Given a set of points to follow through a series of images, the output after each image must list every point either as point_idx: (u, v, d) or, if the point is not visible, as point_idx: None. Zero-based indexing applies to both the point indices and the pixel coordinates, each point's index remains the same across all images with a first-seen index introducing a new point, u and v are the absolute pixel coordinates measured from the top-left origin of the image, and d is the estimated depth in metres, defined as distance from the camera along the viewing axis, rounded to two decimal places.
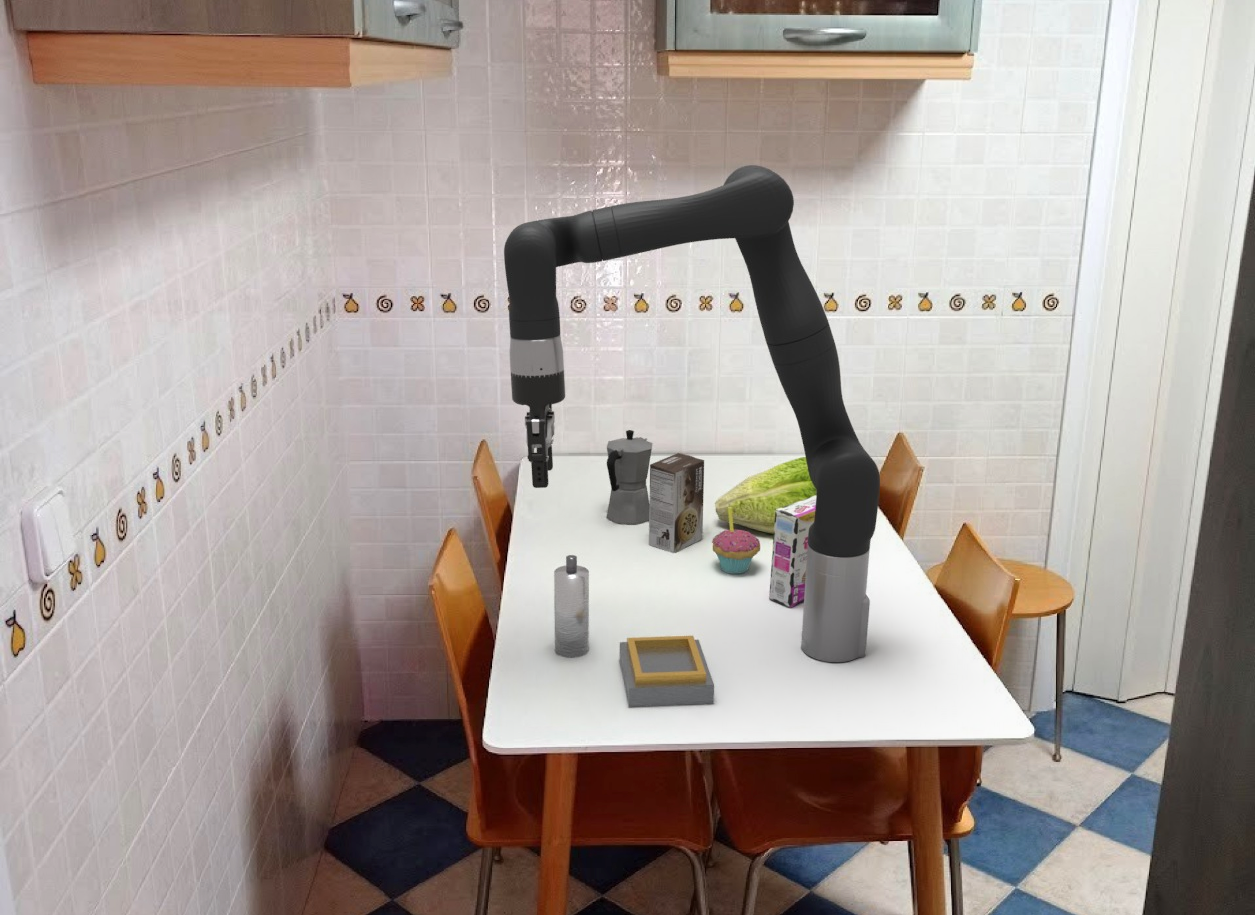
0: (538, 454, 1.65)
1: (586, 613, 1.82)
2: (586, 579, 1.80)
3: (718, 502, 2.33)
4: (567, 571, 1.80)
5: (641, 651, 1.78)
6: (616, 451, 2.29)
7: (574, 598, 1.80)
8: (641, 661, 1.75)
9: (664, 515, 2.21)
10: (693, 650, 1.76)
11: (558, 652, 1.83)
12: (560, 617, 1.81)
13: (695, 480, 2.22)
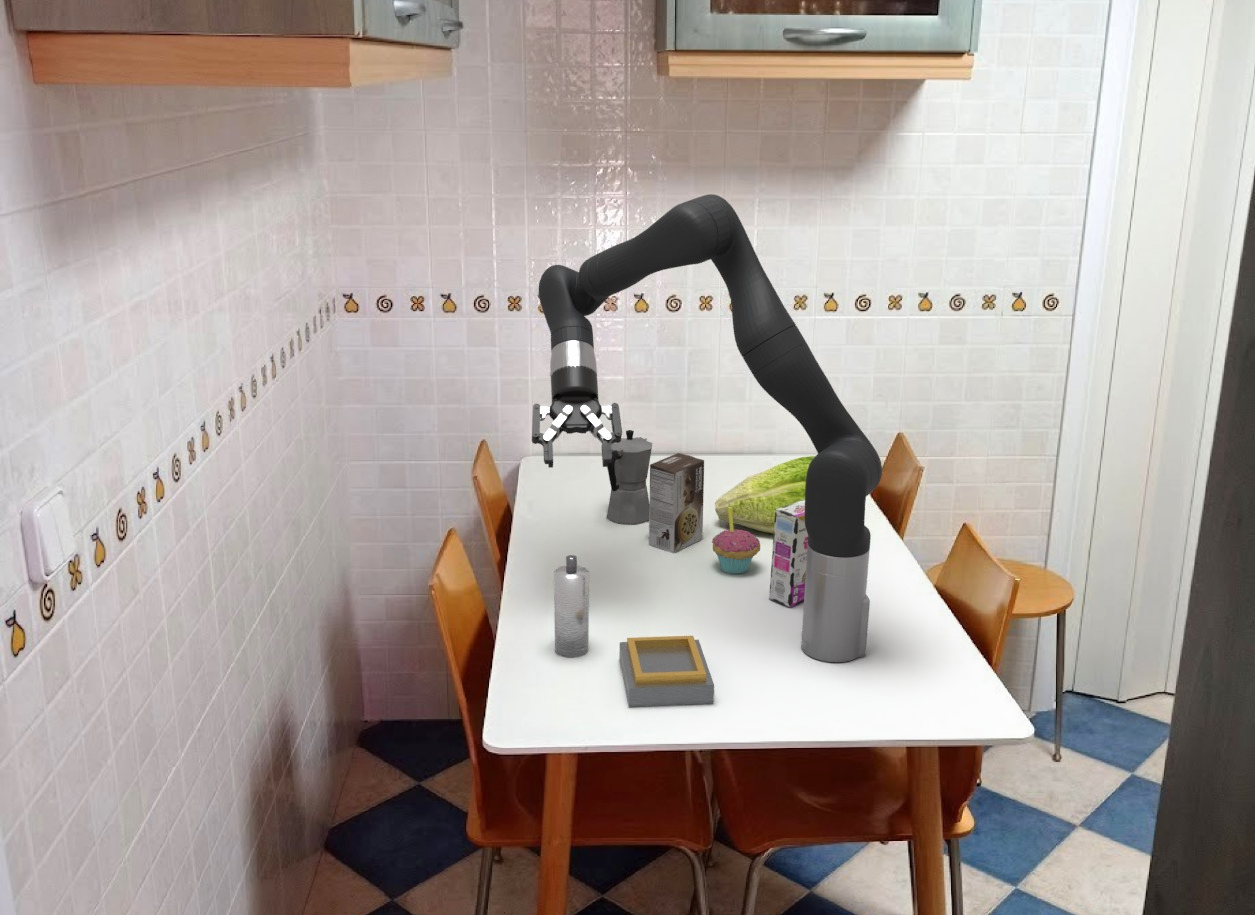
0: None
1: (586, 613, 1.82)
2: (586, 579, 1.80)
3: (718, 502, 2.33)
4: (567, 571, 1.80)
5: (641, 651, 1.78)
6: (616, 451, 2.29)
7: (574, 598, 1.80)
8: (641, 661, 1.75)
9: (664, 515, 2.21)
10: (693, 650, 1.76)
11: (558, 652, 1.83)
12: (560, 617, 1.81)
13: (695, 480, 2.22)
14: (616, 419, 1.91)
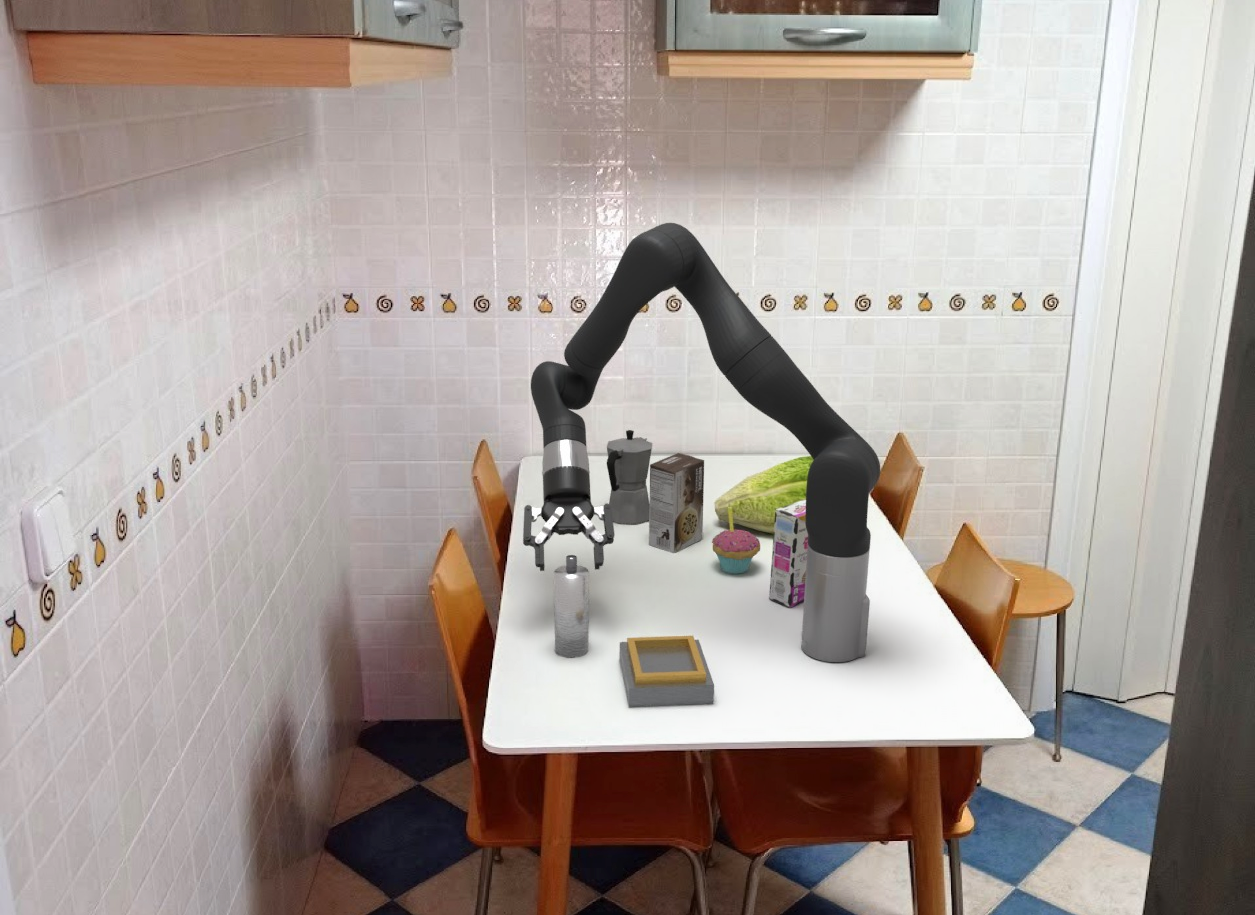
0: None
1: (586, 613, 1.82)
2: (586, 578, 1.80)
3: (717, 502, 2.33)
4: (567, 571, 1.80)
5: (641, 651, 1.78)
6: (616, 451, 2.29)
7: (574, 598, 1.80)
8: (641, 661, 1.75)
9: (664, 515, 2.21)
10: (693, 650, 1.76)
11: (558, 652, 1.83)
12: (560, 617, 1.81)
13: (695, 480, 2.22)
14: (608, 520, 1.89)
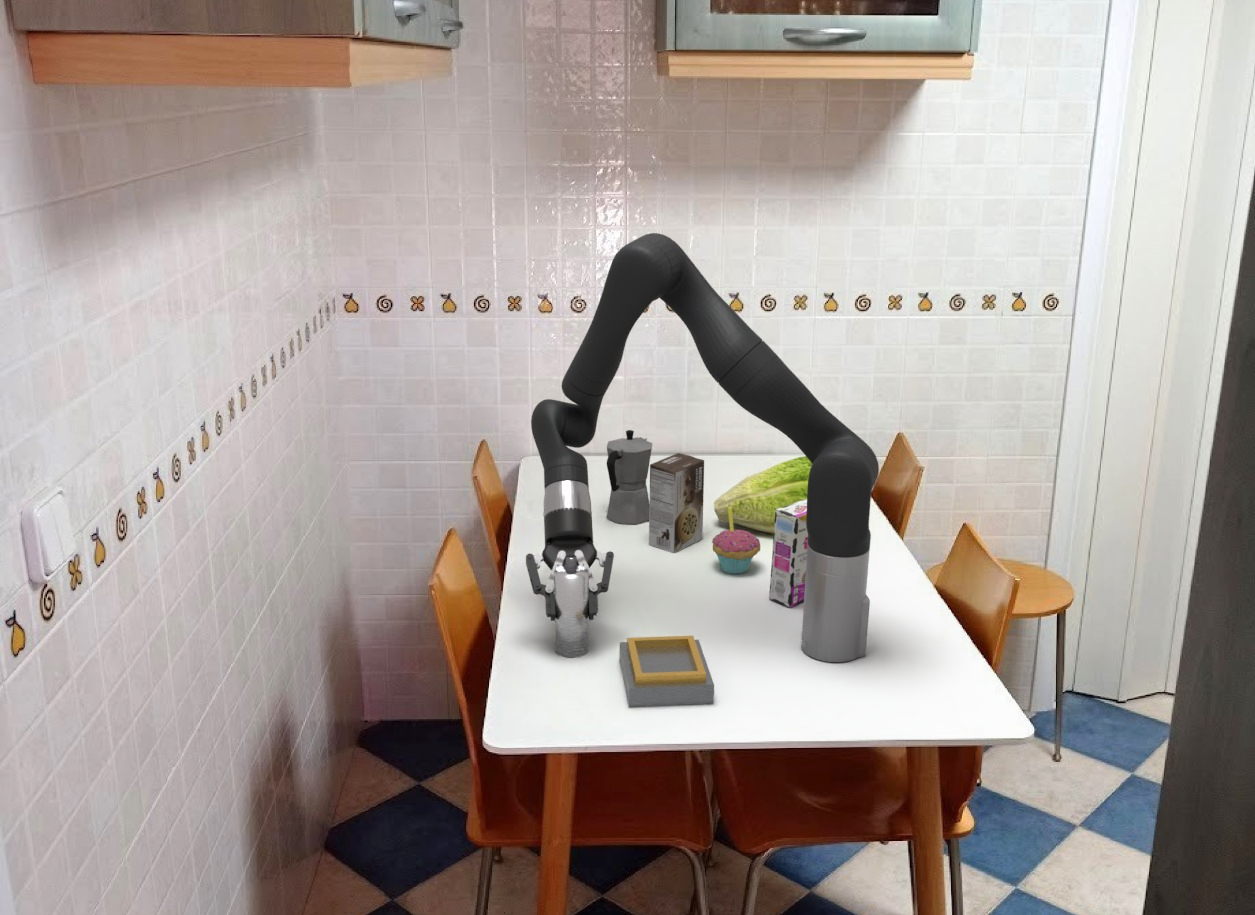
0: None
1: (586, 613, 1.82)
2: (586, 578, 1.80)
3: (717, 502, 2.33)
4: (567, 571, 1.80)
5: (641, 651, 1.78)
6: (616, 451, 2.29)
7: (574, 598, 1.80)
8: (641, 661, 1.75)
9: (664, 515, 2.21)
10: (693, 650, 1.76)
11: (558, 652, 1.83)
12: (560, 617, 1.81)
13: (695, 480, 2.22)
14: (607, 569, 1.84)
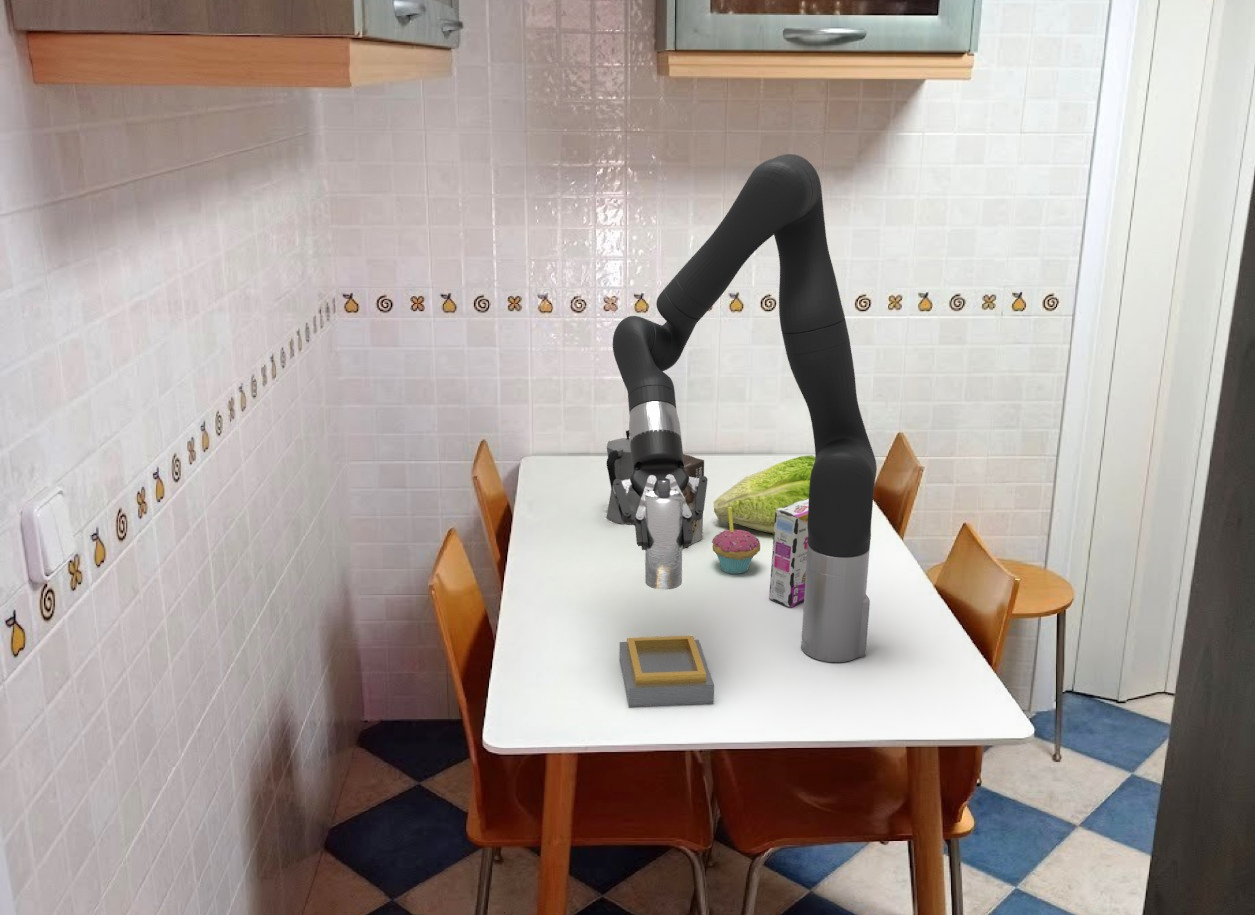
0: None
1: (680, 541, 1.68)
2: (680, 503, 1.67)
3: (717, 502, 2.33)
4: (659, 495, 1.67)
5: (641, 651, 1.78)
6: (616, 451, 2.29)
7: (668, 524, 1.66)
8: (641, 661, 1.75)
9: None
10: (693, 650, 1.76)
11: (649, 584, 1.70)
12: (652, 546, 1.68)
13: None
14: (701, 494, 1.71)
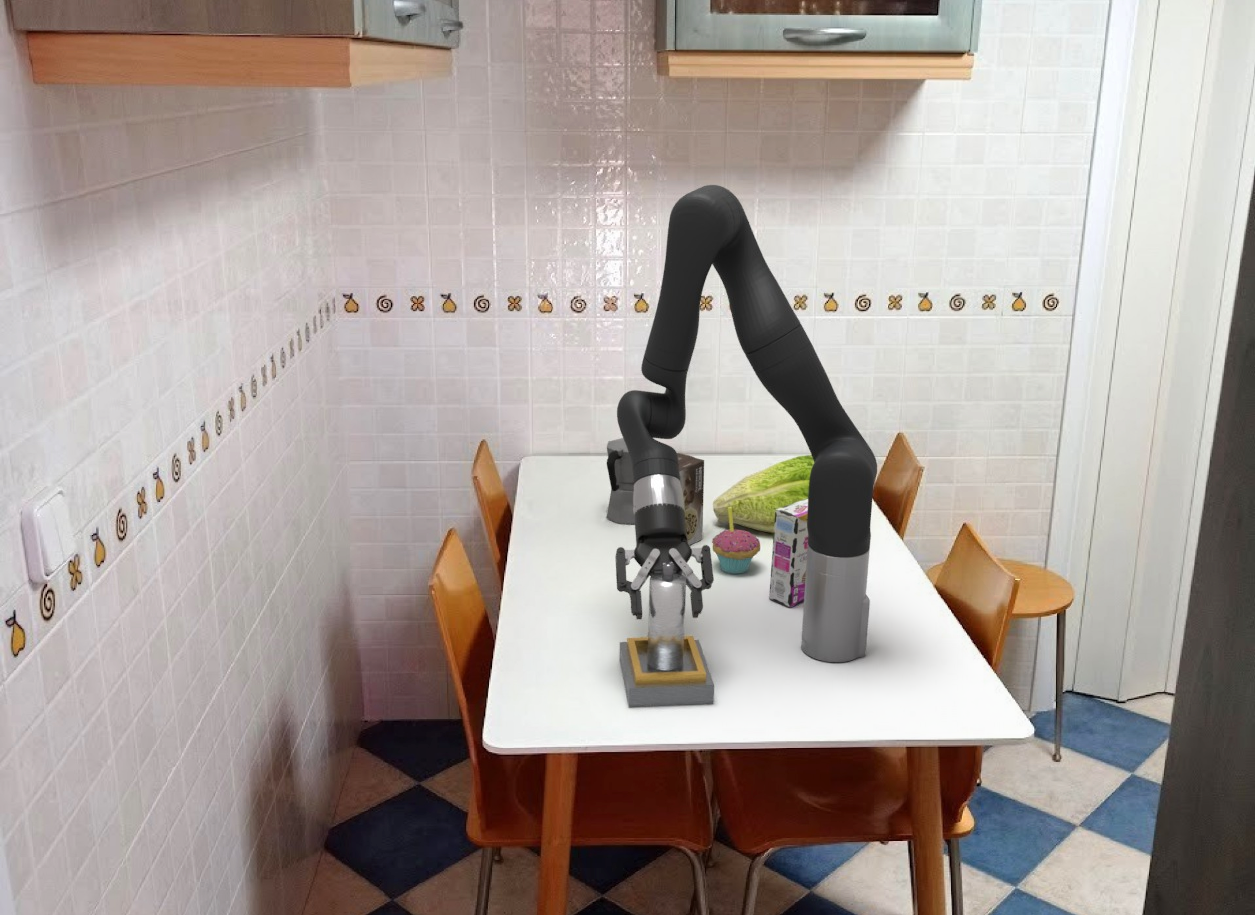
0: None
1: (682, 623, 1.72)
2: (683, 587, 1.70)
3: (716, 502, 2.33)
4: (663, 579, 1.71)
5: (641, 651, 1.78)
6: (616, 451, 2.29)
7: (671, 607, 1.70)
8: (641, 661, 1.75)
9: None
10: (693, 650, 1.76)
11: (651, 664, 1.73)
12: (655, 628, 1.71)
13: (695, 480, 2.22)
14: (707, 564, 1.74)
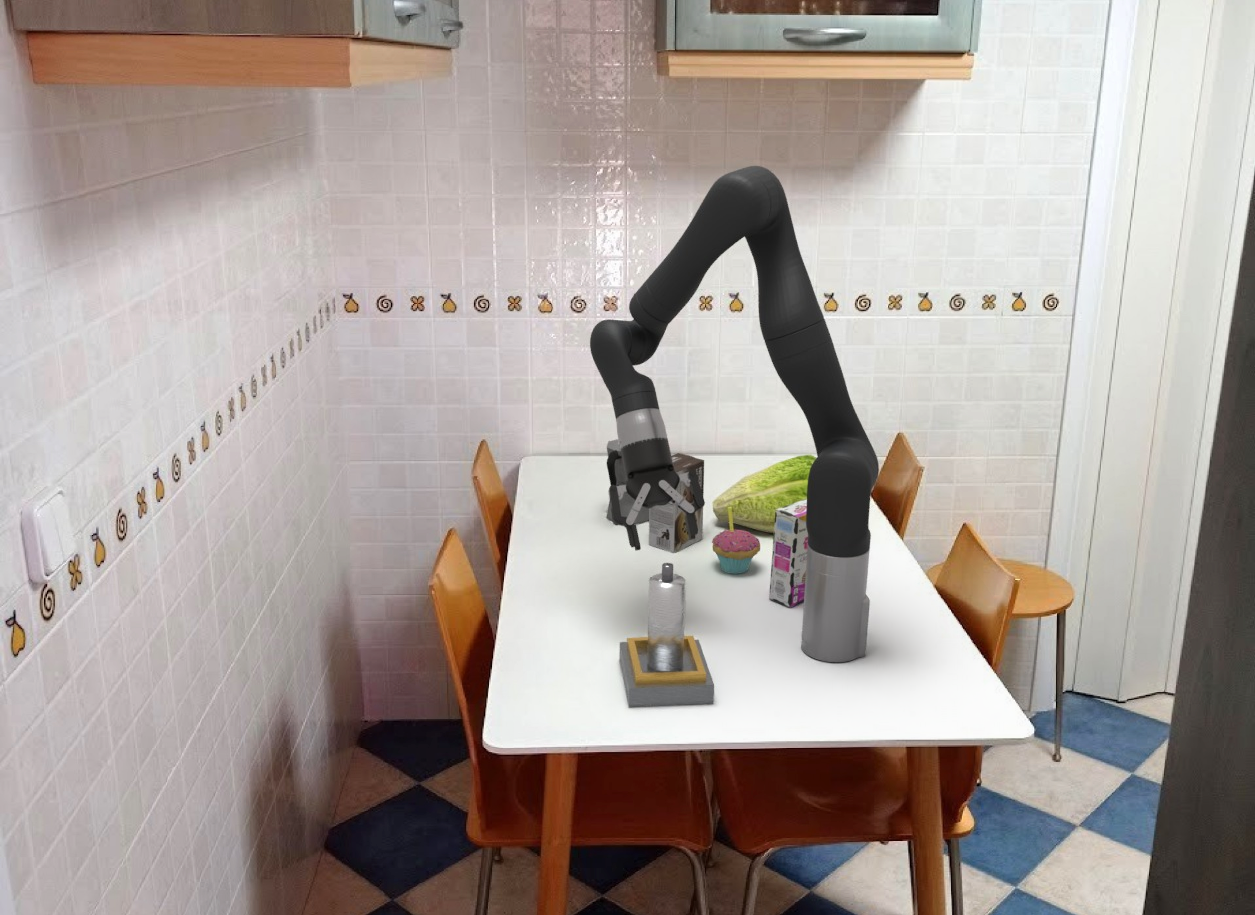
0: None
1: (682, 624, 1.72)
2: (683, 588, 1.70)
3: (716, 502, 2.33)
4: (663, 580, 1.70)
5: (641, 651, 1.78)
6: (616, 451, 2.29)
7: (671, 608, 1.70)
8: (641, 661, 1.75)
9: (664, 515, 2.21)
10: (693, 650, 1.76)
11: (651, 665, 1.73)
12: (655, 629, 1.71)
13: None
14: (696, 488, 1.85)
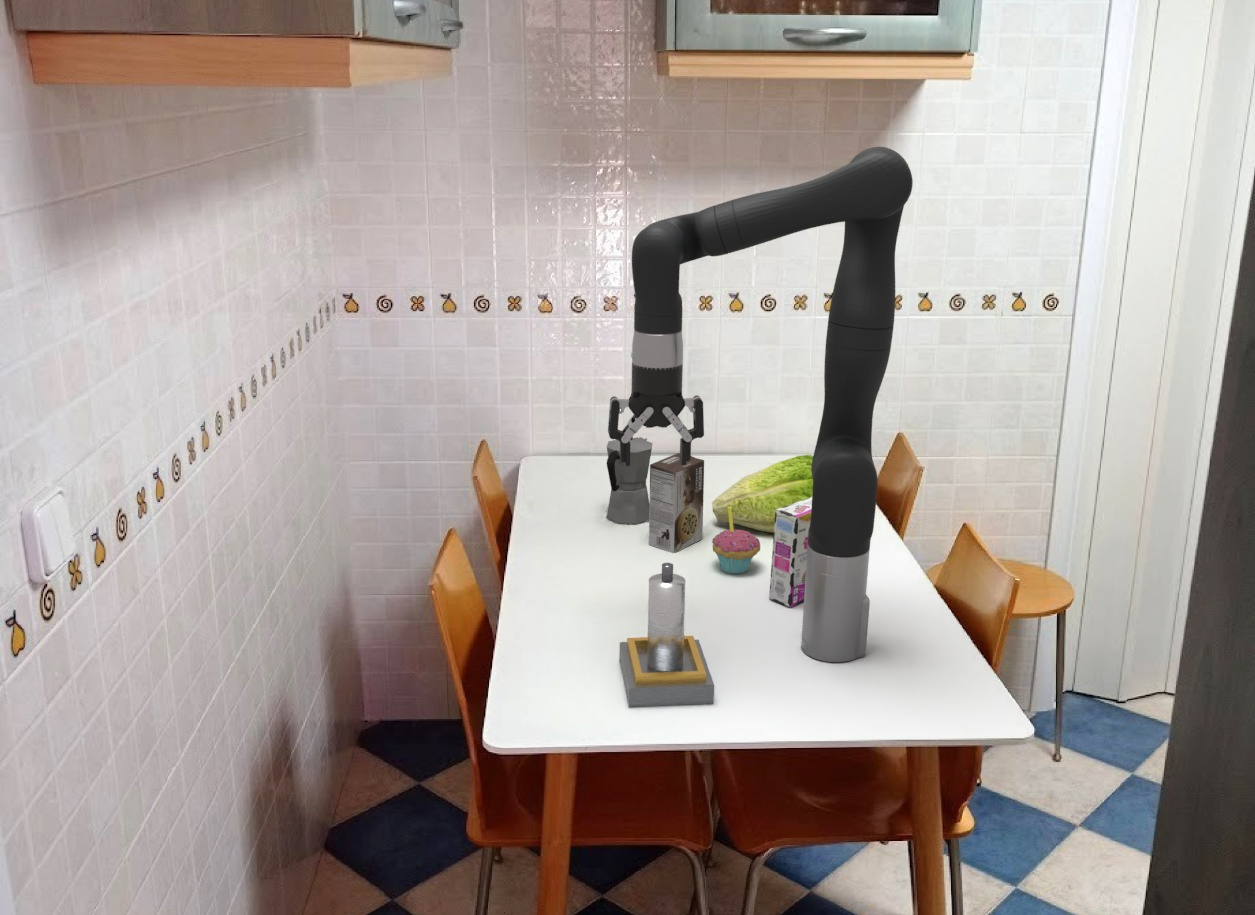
0: None
1: (682, 624, 1.72)
2: (683, 588, 1.70)
3: (715, 502, 2.33)
4: (663, 580, 1.71)
5: (641, 651, 1.78)
6: (616, 451, 2.29)
7: (670, 608, 1.70)
8: (641, 661, 1.75)
9: (664, 515, 2.21)
10: (693, 650, 1.76)
11: (651, 665, 1.73)
12: (655, 629, 1.71)
13: (695, 480, 2.22)
14: (699, 419, 1.79)
